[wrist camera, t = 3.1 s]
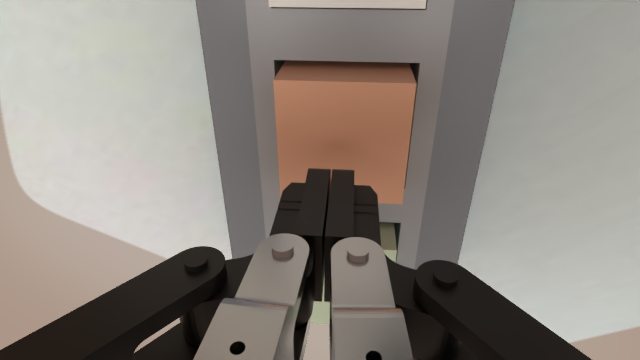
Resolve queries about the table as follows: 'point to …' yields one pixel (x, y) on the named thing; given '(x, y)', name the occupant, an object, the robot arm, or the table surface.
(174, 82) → the table surface
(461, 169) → the console
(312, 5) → the button cream
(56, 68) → the table surface
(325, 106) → the button terracotta
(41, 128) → the table surface
